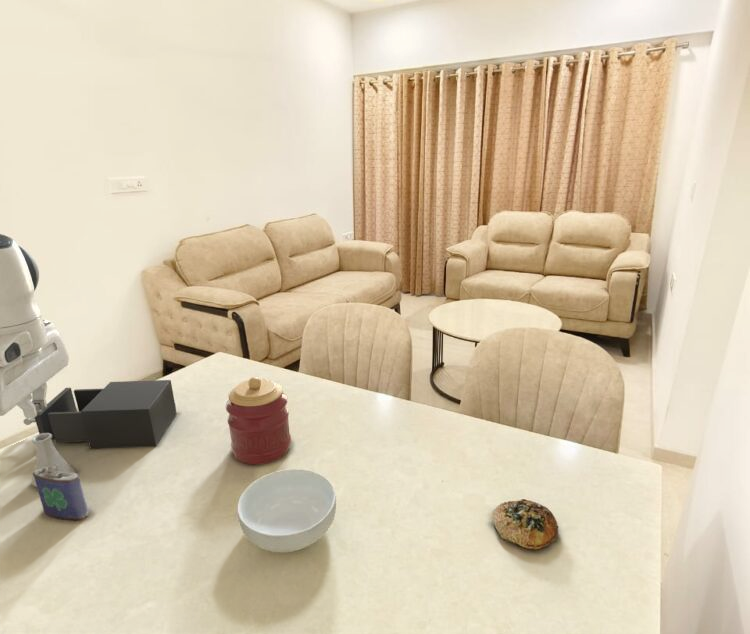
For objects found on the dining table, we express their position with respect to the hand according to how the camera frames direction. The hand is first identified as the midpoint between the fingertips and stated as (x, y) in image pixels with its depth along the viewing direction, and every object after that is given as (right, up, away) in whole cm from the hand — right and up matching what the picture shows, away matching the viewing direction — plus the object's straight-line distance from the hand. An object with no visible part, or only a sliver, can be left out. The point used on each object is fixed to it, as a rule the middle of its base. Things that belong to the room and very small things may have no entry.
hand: (36, 412), depth 85 cm
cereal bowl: (+42, -21, +3) cm, 48 cm away
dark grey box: (0, -9, +35) cm, 36 cm away
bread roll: (+84, -21, +3) cm, 86 cm away
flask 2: (0, -20, +8) cm, 22 cm away
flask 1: (-8, -16, +18) cm, 26 cm away
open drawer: (-13, -9, +34) cm, 38 cm away
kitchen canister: (+32, -12, +27) cm, 44 cm away
